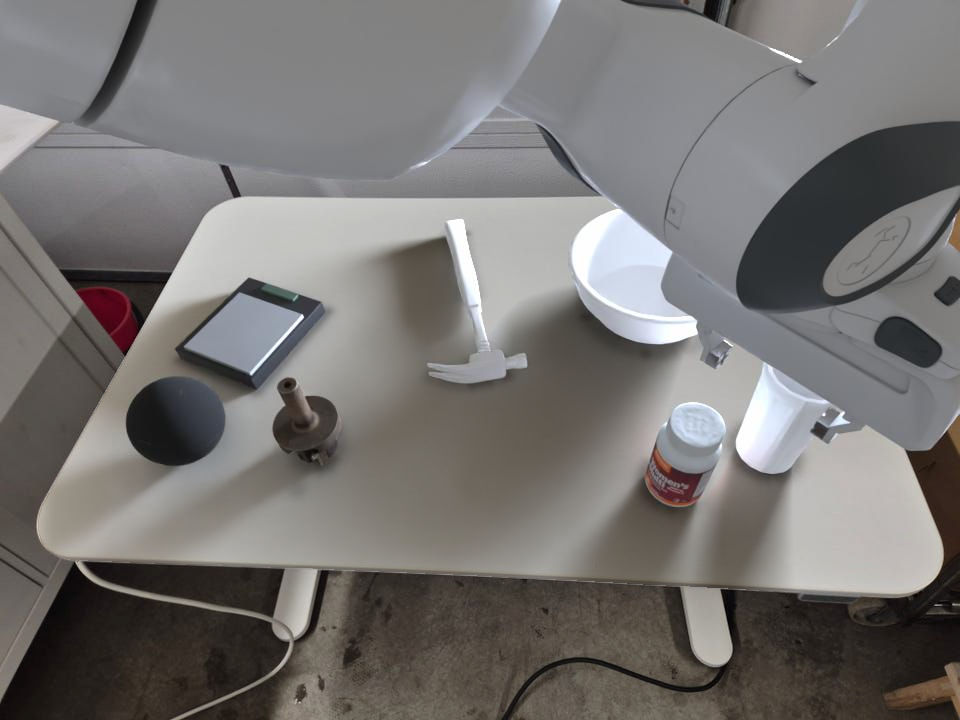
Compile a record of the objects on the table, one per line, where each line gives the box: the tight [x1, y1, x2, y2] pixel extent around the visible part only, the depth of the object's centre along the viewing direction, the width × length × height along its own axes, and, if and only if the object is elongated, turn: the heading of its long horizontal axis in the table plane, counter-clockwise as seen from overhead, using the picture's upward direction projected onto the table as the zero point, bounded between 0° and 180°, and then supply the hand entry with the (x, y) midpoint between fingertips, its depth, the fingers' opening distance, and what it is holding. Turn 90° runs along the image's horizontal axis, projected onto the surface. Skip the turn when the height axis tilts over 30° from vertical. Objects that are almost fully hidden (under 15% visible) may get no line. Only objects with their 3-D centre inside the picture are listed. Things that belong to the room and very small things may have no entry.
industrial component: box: [271, 376, 342, 466], centre depth 66 cm, size 9×7×12 cm
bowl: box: [568, 208, 698, 345], centre depth 80 cm, size 22×22×8 cm
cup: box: [735, 361, 839, 475], centre depth 62 cm, size 8×8×14 cm
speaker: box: [125, 375, 227, 467], centre depth 68 cm, size 10×10×10 cm
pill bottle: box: [644, 402, 726, 508], centre depth 62 cm, size 6×6×11 cm
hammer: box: [426, 218, 528, 384], centre depth 84 cm, size 12×30×3 cm, turn 10°
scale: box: [174, 277, 326, 391], centre depth 82 cm, size 15×13×3 cm
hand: (765, 395), depth 47 cm, fingers open, 8 cm apart
